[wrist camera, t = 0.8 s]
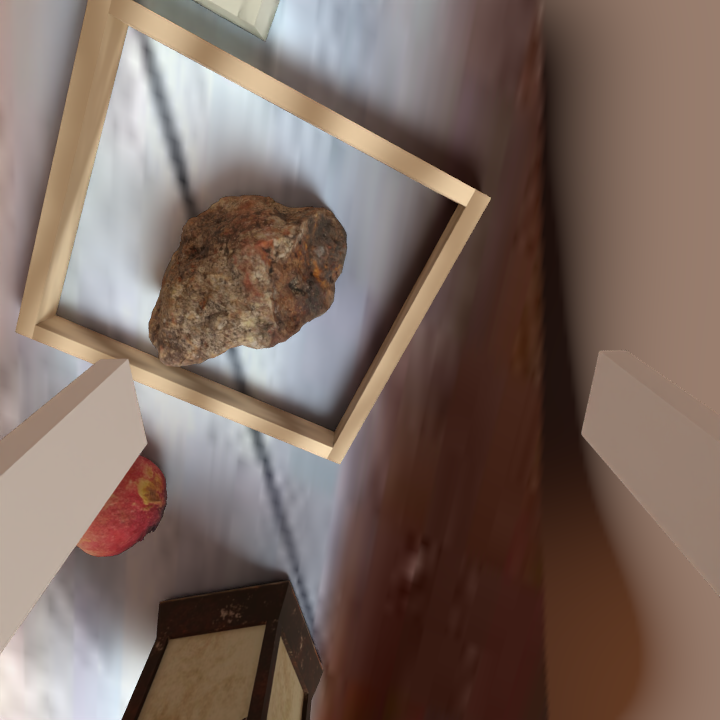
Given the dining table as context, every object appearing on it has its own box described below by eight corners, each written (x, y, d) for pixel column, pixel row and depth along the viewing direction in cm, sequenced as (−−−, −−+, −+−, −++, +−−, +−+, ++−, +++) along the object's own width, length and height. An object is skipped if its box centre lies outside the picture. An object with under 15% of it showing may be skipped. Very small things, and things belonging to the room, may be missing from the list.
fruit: (122, 418, 40) (68, 476, 32) (199, 465, 42) (165, 530, 34) (81, 476, 42) (22, 542, 35) (156, 518, 44) (115, 589, 37)
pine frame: (37, 321, 36) (15, 332, 34) (114, -6, 28) (92, -22, 26) (340, 447, 41) (339, 464, 39) (481, 195, 33) (491, 198, 31)
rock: (350, 319, 38) (343, 189, 34) (358, 360, 30) (350, 195, 26) (168, 332, 37) (139, 199, 33) (126, 377, 29) (82, 209, 25)
